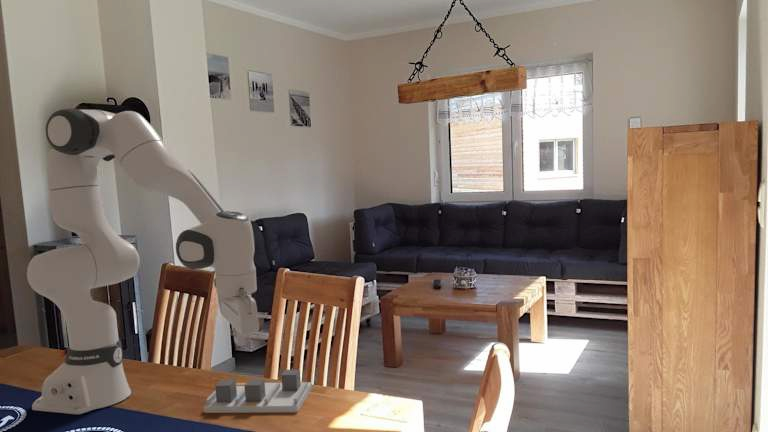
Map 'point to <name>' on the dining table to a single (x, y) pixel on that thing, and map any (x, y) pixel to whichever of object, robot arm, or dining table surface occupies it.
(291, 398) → the switch board
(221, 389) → the gray cube
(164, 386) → the dining table surface
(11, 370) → the dining table surface
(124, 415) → the dining table surface
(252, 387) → the grey cubic block
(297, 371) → the grey cube
